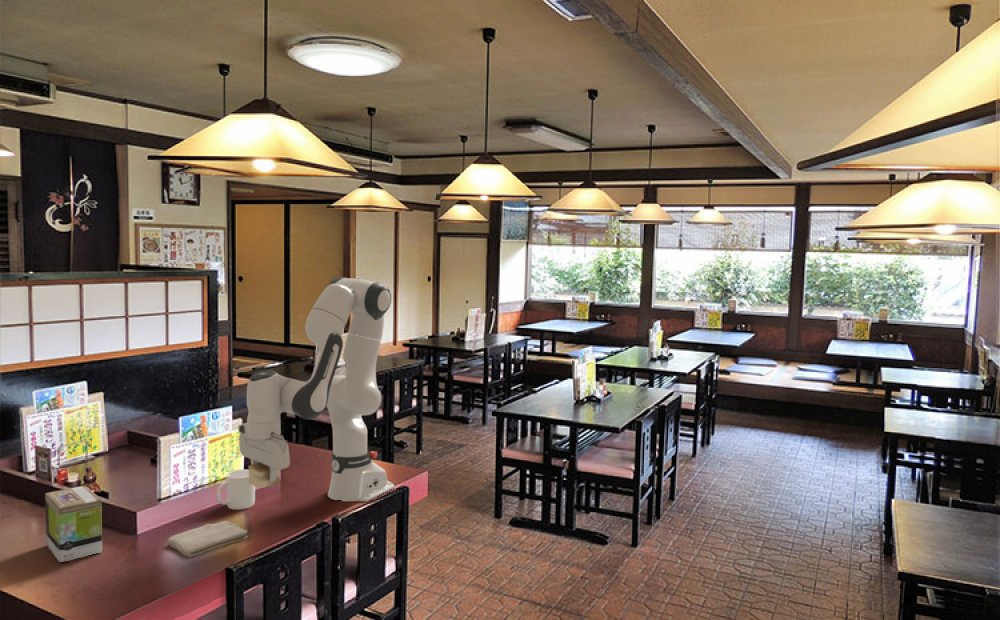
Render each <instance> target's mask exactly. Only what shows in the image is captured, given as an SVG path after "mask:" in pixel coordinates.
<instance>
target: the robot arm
mask: <svg viewBox="0 0 1000 620" xmlns="http://www.w3.org/2000/svg"><path fill="white" fill-rule="evenodd" d="M391 304H392V293H391V291H390V289H389V287H388V286H387V285H386V284H384V283H381V282H379V281H378V282H377V281H376V282H375V281H372V280H367V279H363V278H354V277H353V278H350V277H349V278H347V277H341V276H340V277H336V278H333V279H332V280H331V281H330V282H329V283H328V285H327V286H326V287H325V289H324V290H323V291H322V292H321V294H320V295H319V297H317V300H316V301H315V303H314V304H313V306H312V309H311V310H310V312H309V313H308V315H307V318H306V321H305V324H304V330H305V333H306V336H307V337H308V339H309V340H310V342H312V343H313V344H314V345H315V346H316V347H317V349H318V357H317V359H316V363H315V364H314V365H315V366H314V368H313V371H312V373H311V376H310V378H309V379H308V380H306V381H302V380H298V379H294V378H291V377H286V376H284V375H281V374H279V373H278V372H277V371H276V370H270V369H269V370H268V369H267V370H261V371H257V372H255V373H253V374H252V375H251V376H250V377H249V379H248V382H247V387H246V407H247V410H248V414H247V418H246V423H241V424H238V426H237V431H238V433H239V437H238V438H239V439H238V441H239V444H238V445H239V452H240V453H241V456H243V457H245V458H248V459H250V463H251V464H250V465H253V464H257V463H262V464H264V465H267V466H269V469H270V470H271V471H270V474H268V480H269V481H271V482H272V481H275V480H276V474H277V472H278V470H280V471H281V470H285V469H287V468H289V466H290V464H291V462H290V461H291V458H290V450H289V449H290V448H289V444H288V442H287V441H286V440H285V438H284V436H283V435H282V434H281V433H282V431H281V424H282V423H281V414H282V413H287V414H291V415H296V416H298V417H300V418H302V419H305V420H314V419H316V418H317V417H319V416H320V415H321V414H322V413H323V412H324V411H325V409H326V408H327V411H328V413H329V418H330V422H331V423H330V424H331V429H332V452H331V462H330V463H331V478H330V479H331V480H330V484H329V488H328V493H327V496H328V498H330V500H334V501H337V500H342V501H341V502H369V500H370V501H371V499H372V500H374V499H375V498H377V496H378V497H379V495H380V496H381V494H382V495H384V494H386V493H388V492H390V491H392V490H394V489H395V485H394V483H393V482H391V481H389V480H388V475H387V472H386V470H385V469H384V468H383V467H381V466H380V465H379V464H377V463H375V462H374V461H372V458H373V459H376V458H377V456H378V452H377V451H373V450H371V451H370V450H368V428H367V425H366V424H365V422H364V420H363V418H362V416H370V415H372V414H374V413H376V412H377V410H378V409H379V408H380V405H381V403H382V395H381V392H380V389H379V388H378V384H377V372H376V371H377V360H378V357H379V356H378V355H379V351H380V347H381V342H382V337H383V332H384V326H385V325H384V321H385V314H386V313H387V311H389V308H390V306H391ZM351 313H352V314H353V315H352V319H351V322H350V325H349V328H348V330H347V335H346V336H347V337H346V340H345V342H344V341H343V338H342V336H343V332H344V329H345V326H346V325H347V322H348V320H349V318H350V315H351ZM344 343H345V344H344ZM343 344H344V345H343ZM342 351H343V352H342ZM341 356H342V360H343V362H344V364H345V375H343V374H342V375H340V374H339V375H335V374H336V371H337V368H338V365H339V361H340V358H341ZM393 488H394V489H393ZM391 489H392V490H391ZM389 490H390V491H389ZM387 491H388V492H387ZM385 492H386V493H385ZM383 493H384V494H383Z"/></svg>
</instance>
